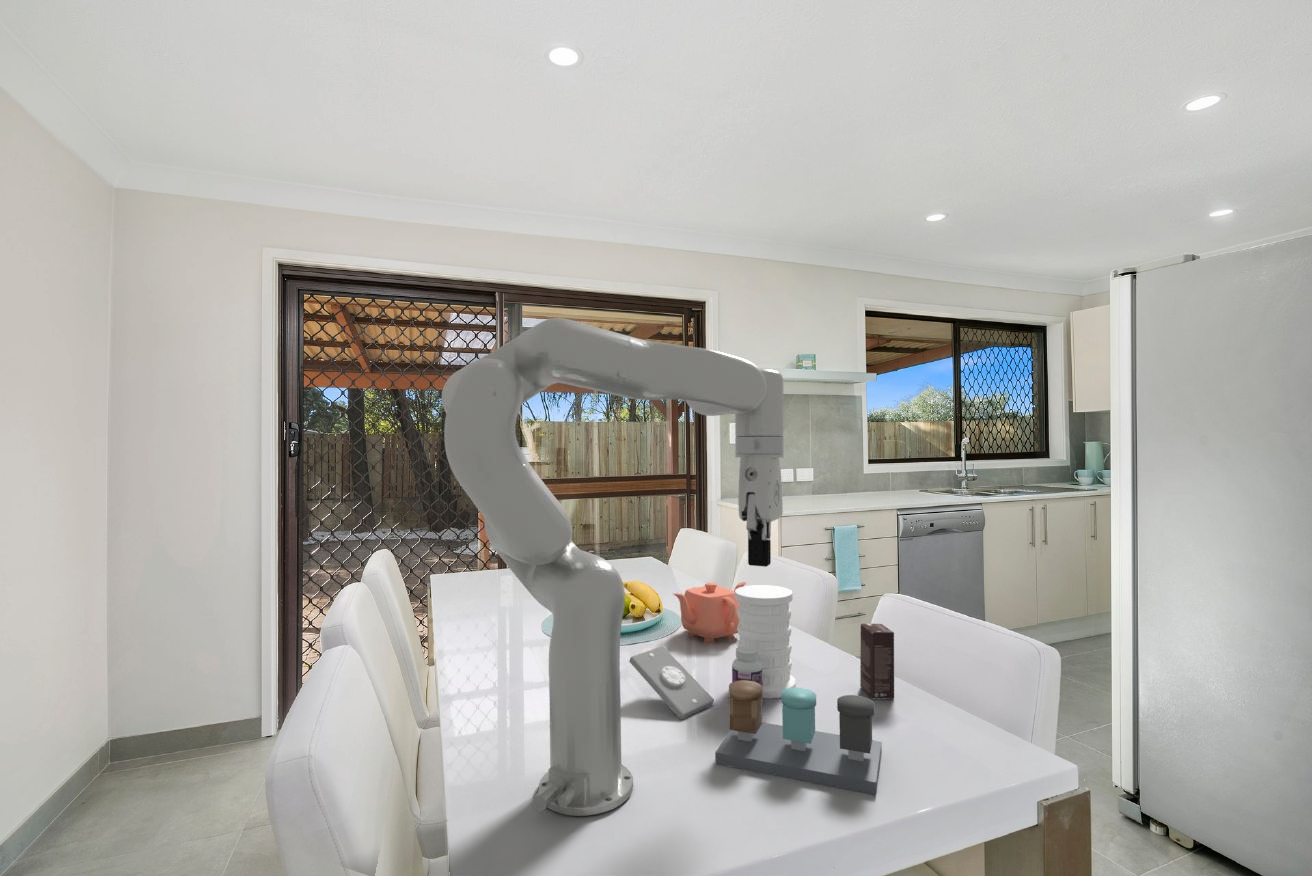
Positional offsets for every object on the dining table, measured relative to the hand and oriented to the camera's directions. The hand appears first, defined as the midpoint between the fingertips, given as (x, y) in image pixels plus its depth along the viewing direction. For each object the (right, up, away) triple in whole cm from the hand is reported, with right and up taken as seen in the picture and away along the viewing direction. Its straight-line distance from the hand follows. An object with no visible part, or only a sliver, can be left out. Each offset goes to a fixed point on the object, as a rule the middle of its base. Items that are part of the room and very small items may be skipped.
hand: (759, 564), depth 98 cm
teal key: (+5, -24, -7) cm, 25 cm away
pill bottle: (0, -28, +13) cm, 30 cm away
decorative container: (+5, -28, +21) cm, 35 cm away
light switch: (-13, -28, +14) cm, 34 cm away
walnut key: (-3, -24, -3) cm, 24 cm away
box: (+25, -27, +17) cm, 40 cm away
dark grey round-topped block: (+12, -24, -10) cm, 28 cm away
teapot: (-3, -28, +52) cm, 59 cm away
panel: (+5, -27, -7) cm, 28 cm away
